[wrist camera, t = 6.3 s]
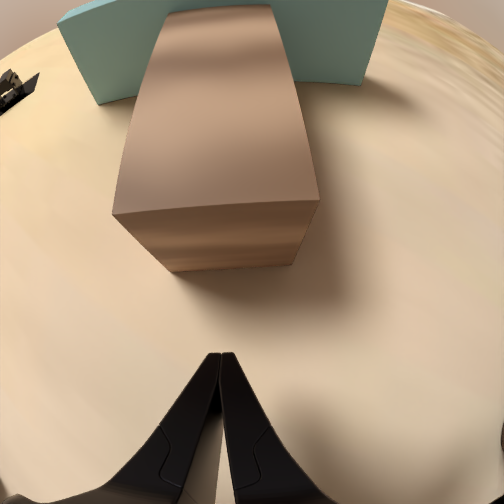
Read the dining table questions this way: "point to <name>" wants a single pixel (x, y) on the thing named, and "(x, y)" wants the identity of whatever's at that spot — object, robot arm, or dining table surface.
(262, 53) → the walnut block
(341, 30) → the teal board
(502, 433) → the plant pot
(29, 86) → the black block on plate
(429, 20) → the dining table surface
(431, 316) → the dining table surface
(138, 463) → the robot arm
